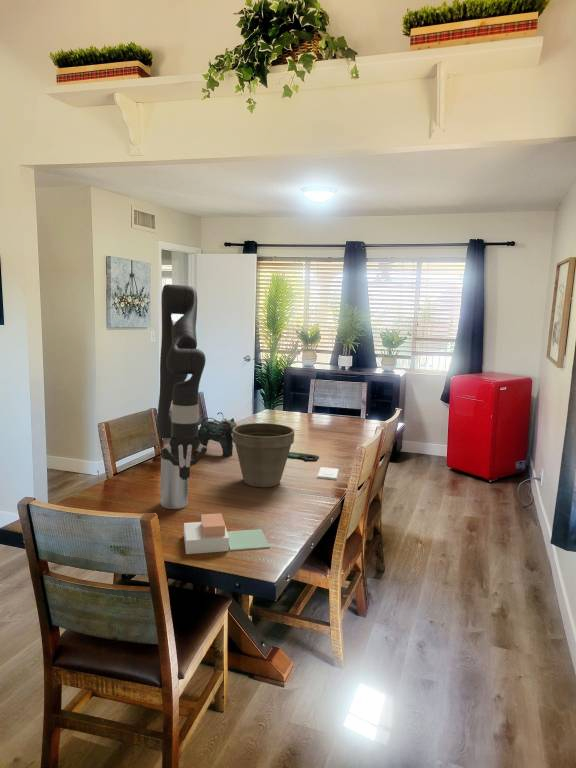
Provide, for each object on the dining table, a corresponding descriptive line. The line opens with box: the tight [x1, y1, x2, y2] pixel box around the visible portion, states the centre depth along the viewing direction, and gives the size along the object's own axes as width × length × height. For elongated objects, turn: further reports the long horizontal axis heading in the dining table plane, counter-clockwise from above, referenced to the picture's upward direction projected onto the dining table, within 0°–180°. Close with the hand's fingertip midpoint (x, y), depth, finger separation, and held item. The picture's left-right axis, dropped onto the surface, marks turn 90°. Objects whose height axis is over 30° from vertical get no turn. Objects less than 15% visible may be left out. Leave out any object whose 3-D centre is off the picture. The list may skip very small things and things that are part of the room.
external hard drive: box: [316, 466, 340, 481], centre depth 218 cm, size 2×8×12 cm
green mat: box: [227, 528, 270, 552], centre depth 154 cm, size 12×12×1 cm
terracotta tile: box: [200, 512, 226, 537], centre depth 150 cm, size 9×6×3 cm, turn 14°
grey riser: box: [183, 521, 230, 555], centre depth 150 cm, size 12×12×4 cm
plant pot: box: [232, 422, 295, 488], centre depth 204 cm, size 25×25×22 cm
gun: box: [287, 451, 320, 462], centre depth 241 cm, size 16×2×10 cm
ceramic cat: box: [197, 411, 238, 458], centre depth 240 cm, size 20×6×20 cm, turn 62°
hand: (184, 478), depth 146 cm, fingers closed
